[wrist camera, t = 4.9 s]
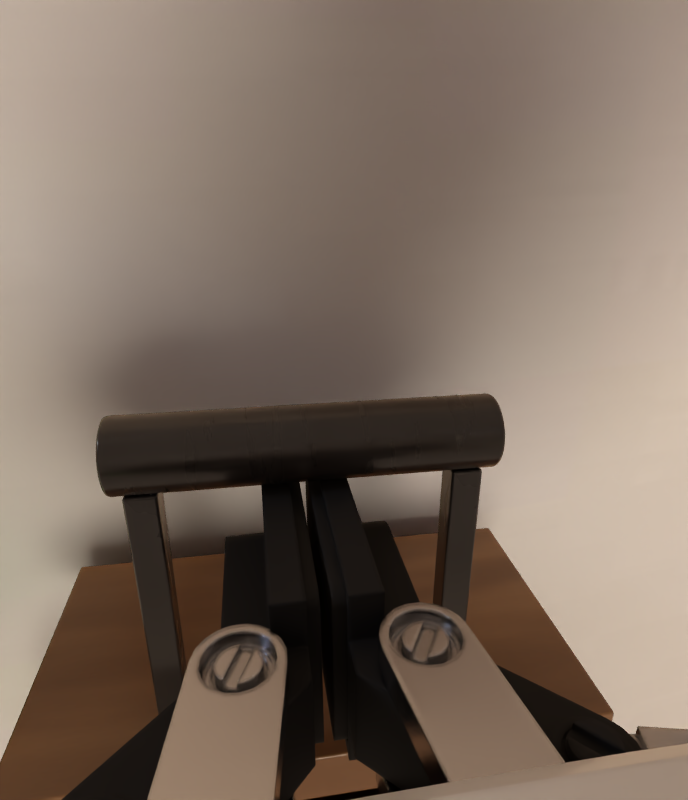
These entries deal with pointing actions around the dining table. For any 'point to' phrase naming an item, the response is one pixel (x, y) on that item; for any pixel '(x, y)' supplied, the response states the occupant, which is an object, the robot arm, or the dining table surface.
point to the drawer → (203, 575)
